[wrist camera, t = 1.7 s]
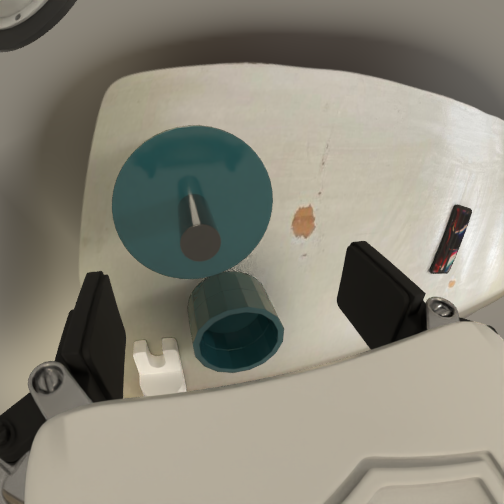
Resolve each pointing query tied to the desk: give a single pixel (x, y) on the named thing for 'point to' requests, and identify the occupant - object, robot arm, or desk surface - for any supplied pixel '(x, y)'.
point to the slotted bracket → (159, 368)
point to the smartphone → (451, 239)
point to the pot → (233, 323)
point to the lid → (192, 202)
